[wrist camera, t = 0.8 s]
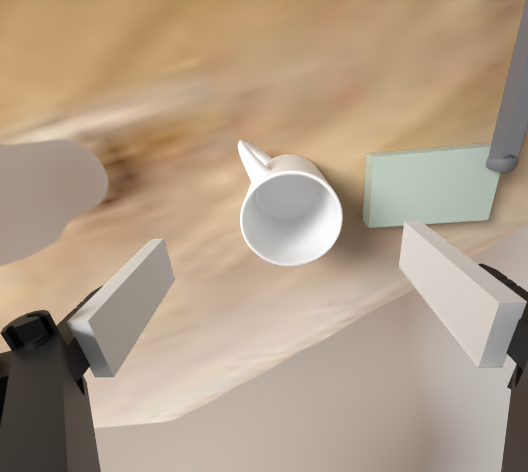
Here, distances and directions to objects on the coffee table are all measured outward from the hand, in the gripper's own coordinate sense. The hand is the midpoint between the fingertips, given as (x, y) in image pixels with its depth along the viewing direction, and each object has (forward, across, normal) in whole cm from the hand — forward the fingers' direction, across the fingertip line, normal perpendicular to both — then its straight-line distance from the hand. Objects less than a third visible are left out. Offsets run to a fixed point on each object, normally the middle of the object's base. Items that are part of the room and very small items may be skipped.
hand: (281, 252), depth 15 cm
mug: (+19, 0, 0) cm, 19 cm away
